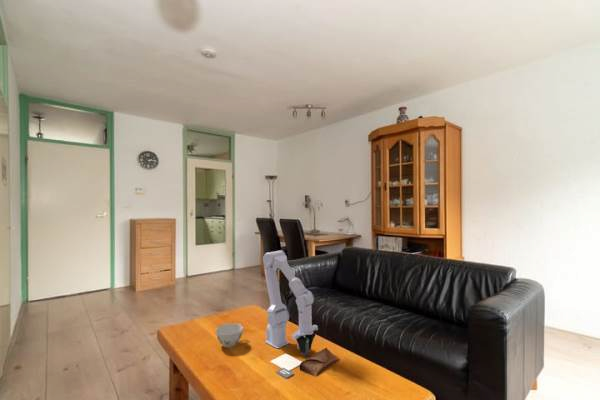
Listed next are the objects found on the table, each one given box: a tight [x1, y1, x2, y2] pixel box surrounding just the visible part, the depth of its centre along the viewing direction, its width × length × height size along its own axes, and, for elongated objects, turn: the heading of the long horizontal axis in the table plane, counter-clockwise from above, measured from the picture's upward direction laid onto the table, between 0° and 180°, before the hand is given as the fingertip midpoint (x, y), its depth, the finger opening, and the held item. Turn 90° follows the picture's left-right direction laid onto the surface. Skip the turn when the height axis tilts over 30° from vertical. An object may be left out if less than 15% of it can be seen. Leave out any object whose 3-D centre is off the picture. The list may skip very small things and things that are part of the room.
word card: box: [275, 368, 294, 380], centre depth 117 cm, size 6×4×1 cm, turn 45°
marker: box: [301, 336, 310, 358], centre depth 131 cm, size 3×3×7 cm
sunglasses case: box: [299, 346, 340, 378], centre depth 124 cm, size 18×7×7 cm
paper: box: [269, 353, 303, 372], centre depth 125 cm, size 11×9×1 cm
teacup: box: [215, 322, 244, 349], centre depth 142 cm, size 15×12×8 cm
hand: (305, 350), depth 131 cm, fingers closed on marker, 3 cm apart
